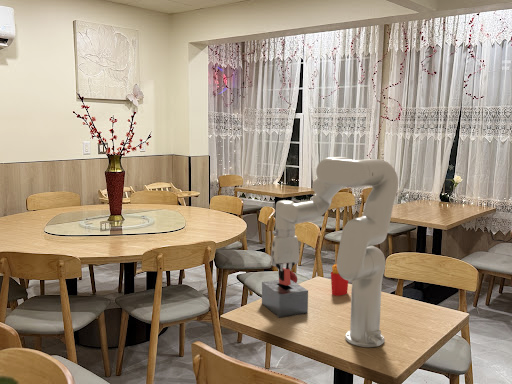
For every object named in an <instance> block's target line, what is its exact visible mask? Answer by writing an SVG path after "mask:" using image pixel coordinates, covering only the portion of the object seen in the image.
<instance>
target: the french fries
mask: <svg viewBox="0 0 512 384" xmlns="http://www.w3.org/2000/svg"><path fill="white" fill-rule="evenodd" d="M331 269H332V270H331V272H330V282H331V295H332V296H336V297H337V296H338V297H339V296H344V295H347V294H348V290H349V281H348V280H345V279H343V278H342V277H341V276H340V275H339V273H338V270H337V263H335V264H333V265H332V266H331Z"/></svg>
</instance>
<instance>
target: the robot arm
mask: <svg viewBox="0 0 512 384" xmlns="http://www.w3.org/2000/svg"><path fill="white" fill-rule="evenodd" d="M315 171H316V173H315V174H316V178H315V180H314V181H313V182H312V191H313V192H314V194H315V195H314V197H313V198H312V199H311V200H309V201H300V202H294V201H293V200H288V199H287V200H286V199H283V200H278V201H277V202H276V203H275V228H274V230H272V233H271V234H272V235H275V236H273V238H272V239H273V240H272V243H271V244H272V245H271V253H270V254H271V261H270V265H271V266H273V267H276V269H277V270H278V269H279V271H278V280H279V279H280V280H282V281H284V271H283V268H284V265H285V268H287V269H290V270H291V271H292V268H293V267H294V266H295V265H296V264H299V263H300V247H299V241H298V240H299V239H298V236H297V235H296V225H297V224H304V223H309V222H314V221H316V220H318V219H320V218H321V217H322V216H323V215H324V214H325V213H326V212H327V211H329V209H330V207H331V205H332V203H333V198H334V197H335V196H336V194H338V192H339V191H341V190H342V189H343V188H344V187H347V188H363V187H372V189H371V190H370V192H369V194H368V196H367V198H366V201H365V202H364V203H365V204H364V209H363V213H362V215H361V216H360V217H355V218H352V219H350V220H348V222H347V223H346V224H345V225H344V226H343V229H342V232H341V236H340V242H339V246H338V251H337V257H336V264H337V270H338V273H339V275H340V276H341V277H342V278H343V279H345V280H348V282H352V283H351V295H350V296H351V297H350V299H351V300H350V326H349V327H350V328H349V329H350V330H348V331H347V332H346V333H345V335H344V336H345V341H347V342H348V343H349V344H351V345H353V346H355V347H362V348H376V347H379V346H381V345H383V344H384V342H385V341H386V339H385V337H384V335H383V334H382V330H381V329H380V328H381V308H382V305H381V304H382V287H383V286H382V284H383V278H384V273H385V269H386V257H385V255H384V253H383V251H382V250H381V249H380V248H379V247H377V246H376V245H379V244H382V243H383V242H384V241H386V239H387V237H388V232H389V228H390V223H391V219H392V215H393V214H392V213H393V209H394V204H395V200H396V197H397V194H398V193H397V192H398V189H399V177H398V173H397V172H396V169H395V168H394V167H393V165H392V164H390V163H389V162H387V161H386V160H384V159H381V158H380V159H379V158H370V159H369V158H367V159H366V158H365V159H356V160H355V159H352V158H349V157H347V156H330V157H325V158H322V160H320V161H319V162H318V164H317V166H316V169H315Z"/></svg>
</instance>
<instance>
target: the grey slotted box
mask: <svg viewBox="0 0 512 384" xmlns="http://www.w3.org/2000/svg"><path fill="white" fill-rule="evenodd" d="M290 281H291V285H287V286H286V285H283V284H280V283H279V279H275V280H268V281H262V282H261V305H262V306H264V307H265V308H266V309H268V310H269V311H270V312H271V313H272V314H273V315H275V316H276V317H277V318H279V319H280V318H287V317H293V316H299V315H306V314H309V313H308V312H309V310H308V308H309V290H308V289H307V288H304V286H301V285H300V284H298V282H297V283H295V282H294V281H292V280H290Z"/></svg>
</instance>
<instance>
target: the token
mask: <svg viewBox="0 0 512 384" xmlns="http://www.w3.org/2000/svg"><path fill="white" fill-rule="evenodd" d="M277 270H278V272H279V269H278V268H277ZM283 271H284V281H282V280H280V279H279V278H278V280H279V283H280V284H283V285H286V286H287V285H291V281H290V269H287V268H286V267H283Z"/></svg>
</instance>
